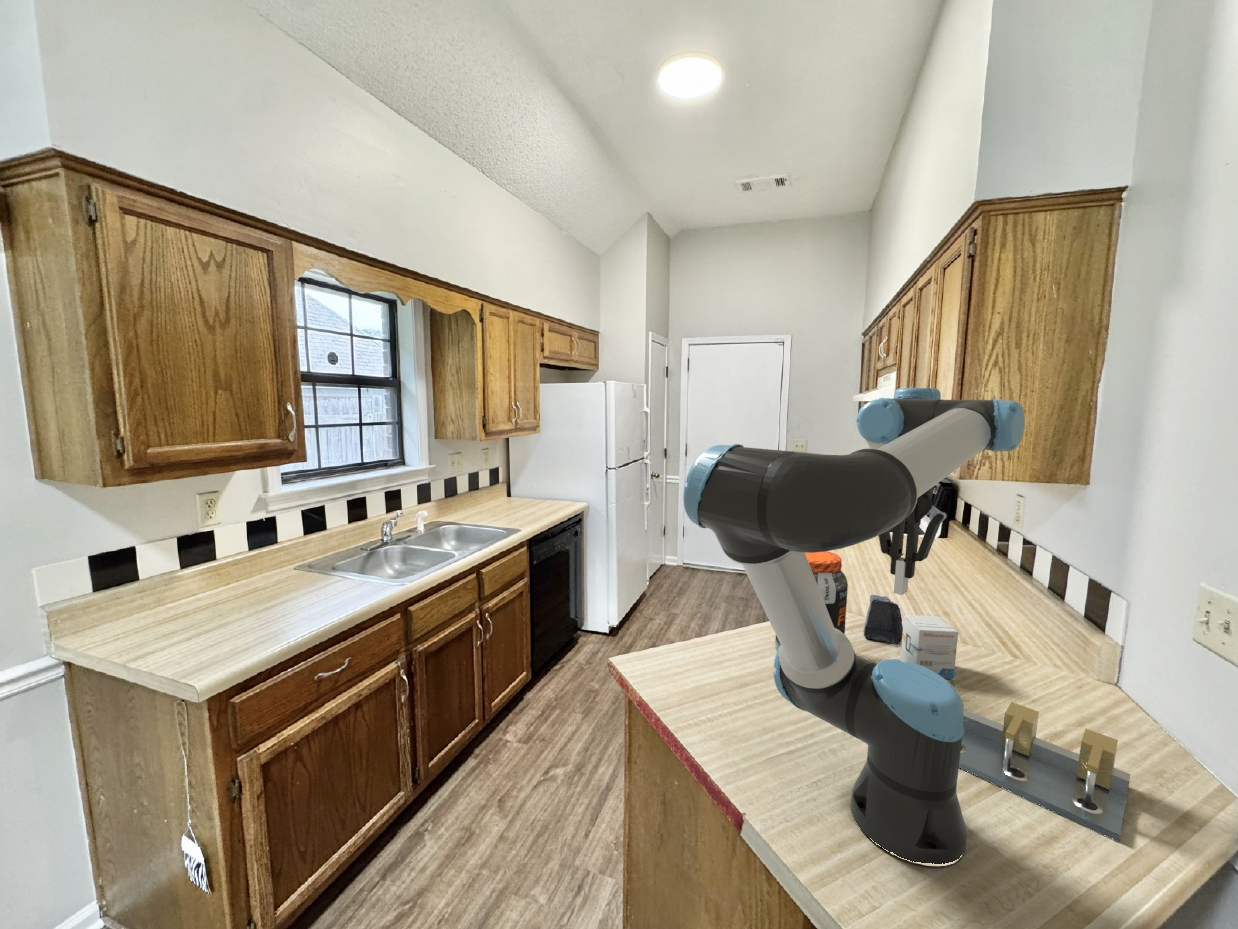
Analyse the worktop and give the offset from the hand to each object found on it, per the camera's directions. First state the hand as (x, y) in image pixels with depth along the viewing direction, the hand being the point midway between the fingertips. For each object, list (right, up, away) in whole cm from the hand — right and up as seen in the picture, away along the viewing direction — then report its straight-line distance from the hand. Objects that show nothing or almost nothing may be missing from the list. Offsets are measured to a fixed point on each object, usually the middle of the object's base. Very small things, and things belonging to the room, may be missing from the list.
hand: (900, 592), depth 100 cm
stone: (+16, -22, +40) cm, 48 cm away
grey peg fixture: (+15, -28, -10) cm, 34 cm away
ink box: (+18, -24, +23) cm, 38 cm away
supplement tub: (-8, -23, +28) cm, 37 cm away
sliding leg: (+15, -26, -8) cm, 32 cm away
